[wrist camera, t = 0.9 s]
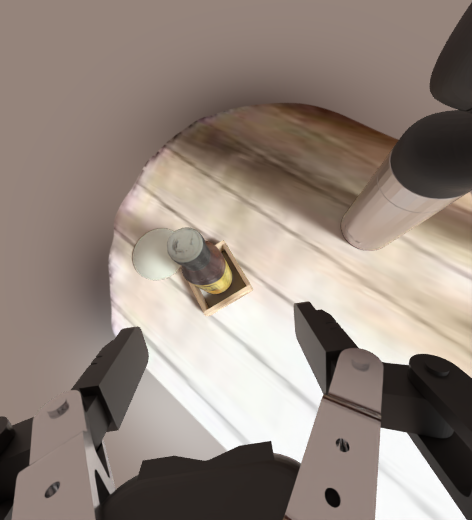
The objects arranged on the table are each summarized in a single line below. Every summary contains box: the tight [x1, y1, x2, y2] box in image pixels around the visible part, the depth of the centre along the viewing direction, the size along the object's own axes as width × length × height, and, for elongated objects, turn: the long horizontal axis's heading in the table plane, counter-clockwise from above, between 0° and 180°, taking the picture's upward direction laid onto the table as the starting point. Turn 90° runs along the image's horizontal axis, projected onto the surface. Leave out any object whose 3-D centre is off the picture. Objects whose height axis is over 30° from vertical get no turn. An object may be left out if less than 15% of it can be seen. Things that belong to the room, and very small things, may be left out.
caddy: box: [180, 240, 253, 316], centre depth 41 cm, size 9×10×3 cm
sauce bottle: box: [167, 228, 232, 294], centre depth 33 cm, size 7×6×20 cm
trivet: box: [133, 228, 180, 280], centre depth 45 cm, size 11×11×1 cm
